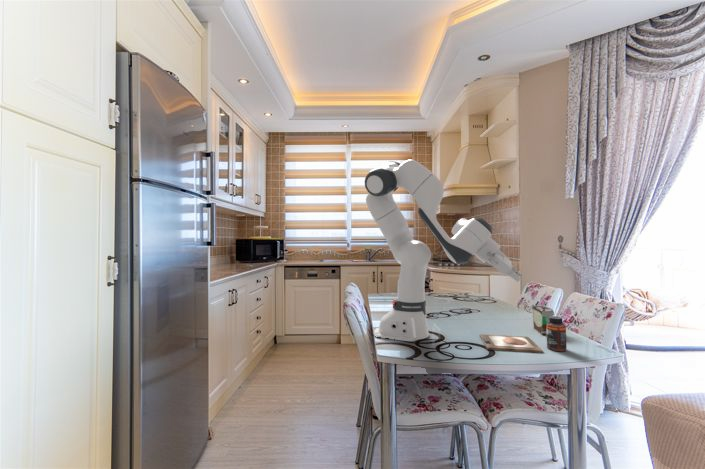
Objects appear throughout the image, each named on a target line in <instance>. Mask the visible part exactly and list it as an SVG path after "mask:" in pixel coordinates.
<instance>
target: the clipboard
mask: <svg viewBox="0 0 705 469" xmlns="http://www.w3.org/2000/svg"><path fill="white" fill-rule="evenodd" d="M479 338H480V340H481V341H482V342H483V345H484V346H485V348H486V350H487V351H503V352H506V351H507V352H522V353H540V354H544V350H543V349H542V348H541V347H540V346H539V345H538V344H536V343H535V341H533V339H531V338H530V337H528V336H519V335H499V334H498V335H497V334H483V333H482V334H481V333H480V334H479Z"/></svg>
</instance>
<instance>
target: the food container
mask: <svg viewBox="0 0 705 469" xmlns="http://www.w3.org/2000/svg"><path fill="white" fill-rule="evenodd" d="M531 308H532V309H531V310H532V319H533V321H532V325H533V329H534V331H536V332H537V333H538V334H539V335H540V336H547V330H546V324H547V323H548V322H549V317H550V316H555V311H554V310H553V308H551V307H548V306H541V305H532V307H531Z"/></svg>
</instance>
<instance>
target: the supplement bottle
mask: <svg viewBox="0 0 705 469" xmlns="http://www.w3.org/2000/svg"><path fill="white" fill-rule="evenodd" d="M546 330H547V335H546V347H547V349H548V350H551V351H554V352H565V351H567V328H566V325H565V324H564V323H563V317H561V316H557V315H554V316H550V317H549V322H548V323H547V324H546Z"/></svg>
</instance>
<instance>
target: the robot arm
mask: <svg viewBox="0 0 705 469" xmlns="http://www.w3.org/2000/svg"><path fill="white" fill-rule="evenodd" d="M364 186H365V189H366V191H367V193H368V194H367V195H366V198H365V202H366V206H367V209H368V210H369V212H370V214H371V217H372V218H373V220H374V222H375V223H376V225H377V227H378V228H379V230H380V232H381V233H382V235H383V237H384V238H385V241H386V243H387V245H388V248H389V249H390V252H391V253H392V254H391V255H393V256H392V257H393V258H394V260H395V261H396V262H397V263H398V264H399V265H400V269H399V277H398V279H397V299H396V298H394V299H392V309H391V310H389V311H388V312H387V313H386V314H384V315H383V316H382V317H381V319H380V322H379V326H378V327H376V328H375V330H374V331H373V335H374V334H375V335H376V336H377V337H381V338H380V339H385V338H389V339H388V340H394V339H395V340H396V341H404V342H415V341H419V340H424V339H427V338H428V337H429V336H430V332H429V330H428V329H429V328H428V324H427V318H426V315H427V302H426V298H425V297H426V296H425V295H426V294H425V293H426V292H425V291H426V290H425V284H426V283H425V282H426V275H427V270H428V265H429V263H430V261H431V258H432V251H431V249H430V247H429V246H428V244H426V243H424V242H423V241H421V240H415V239H414V238H413V236H412V234H411V231H410V228H409V223H408V221H407V220H406V217H405V216H404V214H403V213H402V210H400V209H401V208H399V206H398V205H397V203H396V201H395V200H394V197H393V193H394V192H396V191H397V190H398V189H399V188H403V189H404V190H405V191H407V193H408V194H410V195H411V196H412V197H413V199H415V200H414V201H416V203H417V206H418V208H417V213H418V216H419V217H420V219H421V221H422V222H423V223H424V225H425V226H426V228H427V229H428V230H429V232H430V233H431V234H432V236H433V237H434V239H435V240H436V241H437V242H438V244H439V245H440V247H441V248H442V250H443V251H444V253H445V254H446V257H447V258H448V259H449V260H450V261H451V262H453V263H454V264H456V265H464V264H468V263H469V262H470V260H472V258H473V257H474V256H475V257H476V258H477V259H478V260H480V261H481V262H482V263H483V264H485V263H488V264H489V265H491V266H493V267H494V268H495V269H496V270H497V271H498V272H499V273H500V274H501V275H503V276H507V275H508V276H509V277H510V278H512V279H513V280H514V281H516V282H519V281H521V279H522V278H521V277H520V276H521V273H520V272H519V271H518V270H517V269H516V268H515V266H513V265H512V264H513V262H512V261H511V260H510V258H509V257H508V256H507V255H506V254H505V253H504V252H503V251H502V250H501V248H502V247H501V245H499V243H498V242H496V241H495V240H494V239H493V238H491V236H492V235H493V228H492V225H491V224H490V223H489V222H487V221H486V220H485V219H483V218H482V217H471V219H467V218H465V217H462V218H460V219H458V220H457V221H456V222H455V223H454V225H453V227H452V228H451V234H452V235H453V236H452V237H450V236H449V235H448V233H447V232H446V230H444V228H443V227H442V225H441V224H440V223H439V221H438V219H437V212H438V210H439V206H440V205H441V203H442V200H443V197H444V194H445V193H444V191H445V190H444V189H445V188H444V183H443V182H442V181H441V180H440V179H439V178H438V176H436V175H435V174H434V173H433V172H432V171H431V170H430V169H428V168H427V167H426V166H424V165H423V164H422V163H420V162H418V161H417V160H414V159H407V160H405V161H403V162H402V163H400V162H398V161H391V160H390V161H388V162H386V163H381V164H380V165H378V166H377V167H375V168H372V169H371V170H370V171H369V172H368V173H367V174H366V176H365V178H364ZM377 337H376V338H377ZM395 340H394V341H395Z"/></svg>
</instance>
